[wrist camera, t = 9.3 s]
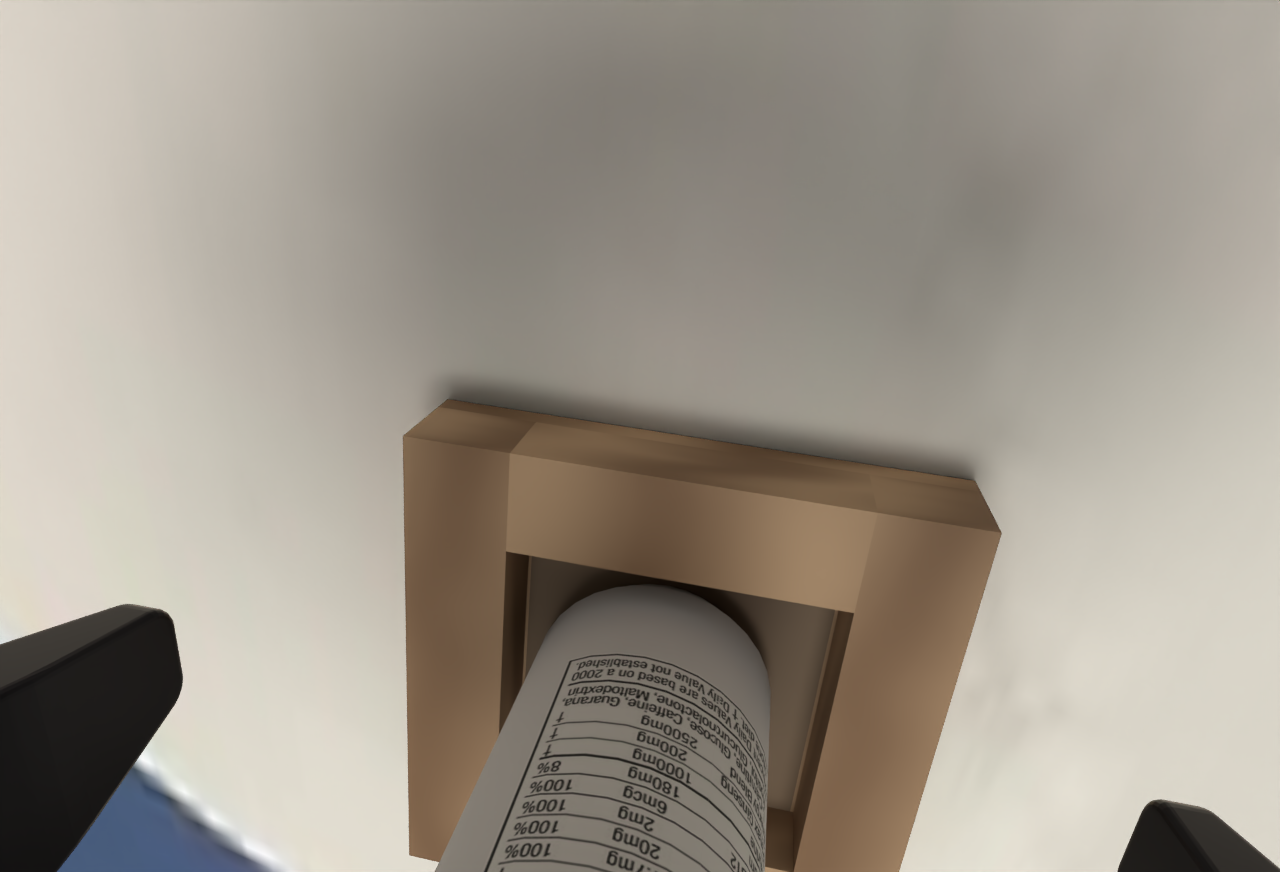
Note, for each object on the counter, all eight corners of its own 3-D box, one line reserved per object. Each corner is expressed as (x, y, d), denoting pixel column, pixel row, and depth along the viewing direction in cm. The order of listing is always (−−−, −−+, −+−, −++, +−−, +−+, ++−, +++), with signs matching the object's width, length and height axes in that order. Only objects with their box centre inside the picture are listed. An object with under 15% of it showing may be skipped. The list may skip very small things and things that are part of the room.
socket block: (975, 480, 19) (1001, 533, 17) (863, 876, 24) (871, 960, 22) (448, 399, 21) (402, 436, 18) (444, 786, 26) (409, 854, 23)
